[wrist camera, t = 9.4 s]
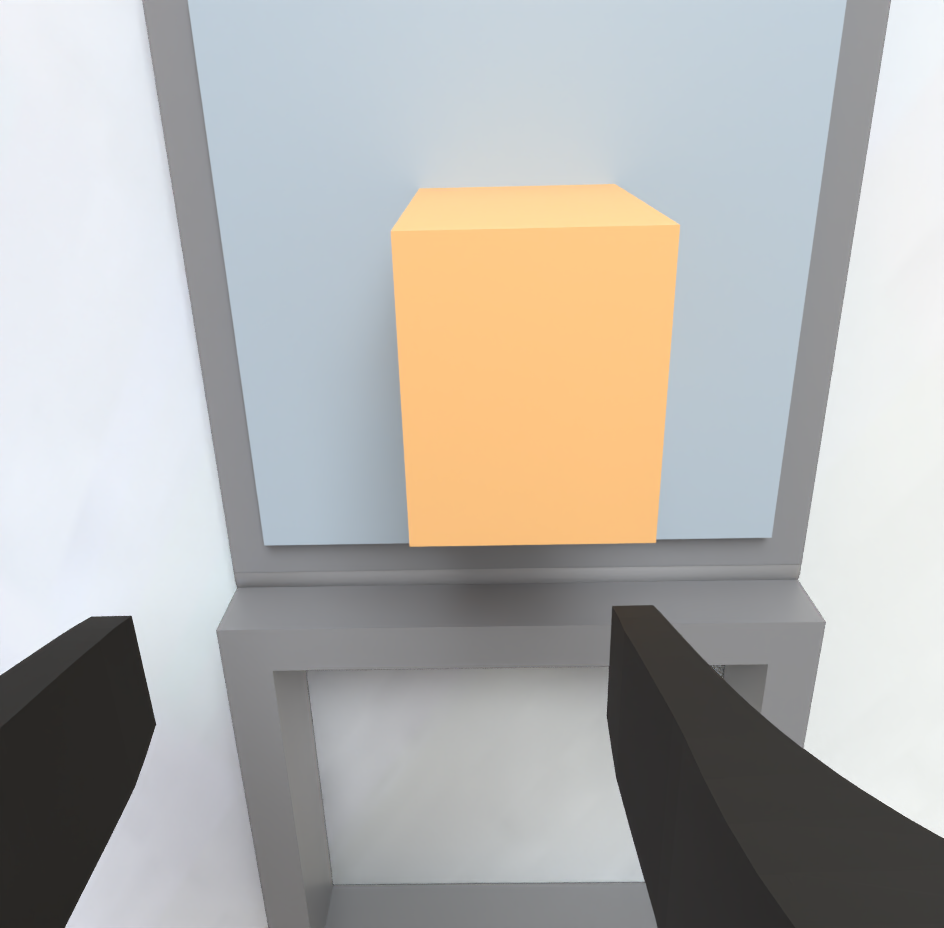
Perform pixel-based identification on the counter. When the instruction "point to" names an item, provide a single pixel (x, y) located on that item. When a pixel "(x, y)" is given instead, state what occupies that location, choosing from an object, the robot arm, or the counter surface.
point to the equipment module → (533, 363)
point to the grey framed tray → (377, 368)
